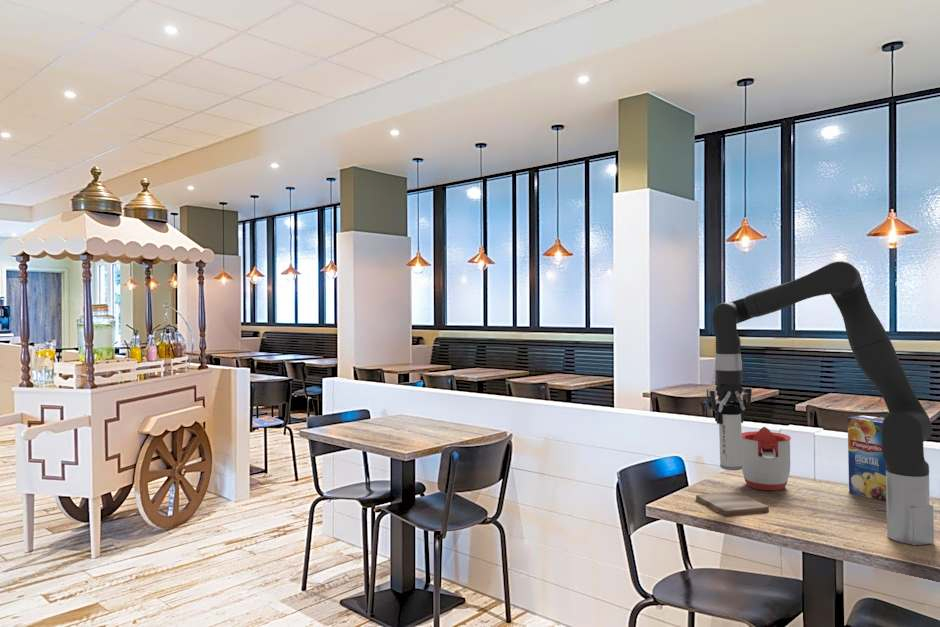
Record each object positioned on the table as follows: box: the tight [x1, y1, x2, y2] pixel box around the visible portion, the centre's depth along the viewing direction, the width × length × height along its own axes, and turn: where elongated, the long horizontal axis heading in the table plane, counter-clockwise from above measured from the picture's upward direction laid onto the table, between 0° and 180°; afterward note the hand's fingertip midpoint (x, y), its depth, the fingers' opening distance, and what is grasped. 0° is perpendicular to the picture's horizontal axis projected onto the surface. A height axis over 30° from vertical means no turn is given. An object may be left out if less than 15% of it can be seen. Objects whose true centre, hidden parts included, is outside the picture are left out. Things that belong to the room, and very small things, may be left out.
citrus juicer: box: [741, 426, 792, 491], centre depth 214 cm, size 16×17×20 cm
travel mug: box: [718, 401, 743, 471], centre depth 195 cm, size 6×7×20 cm
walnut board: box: [695, 490, 770, 517], centre depth 196 cm, size 16×14×2 cm
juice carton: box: [847, 414, 886, 503], centre depth 202 cm, size 12×8×24 cm, turn 26°
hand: (729, 423), depth 195 cm, fingers closed on travel mug, 6 cm apart
